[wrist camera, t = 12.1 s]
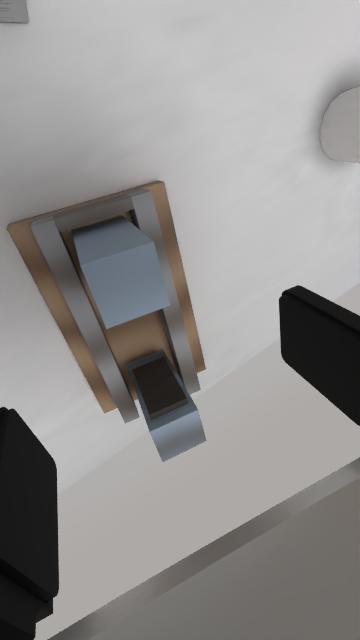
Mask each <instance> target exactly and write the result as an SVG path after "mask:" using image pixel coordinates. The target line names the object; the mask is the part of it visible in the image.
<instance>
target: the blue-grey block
mask: <svg viewBox="0 0 360 640" xmlns="http://www.w3.org/2000/svg"><path fill="white" fill-rule="evenodd" d="M71 231H72V235H73V239H74V243H75V247H76V251H77V255H78V259H79V263H80V266H81V269H82V271H83V273H84V276H85V278H86V281H87V283H88V285H89V288H90V290H91V293H92V295H93V298H94V300H95V302H96V305H97V307H98V310H99V312H100V314H101V317H102V319H103V322H104V324H105V326H106V329H108V328H111V327H115V326H118V325H120V324H123V323H126V322H128V321H131V320H134V319H136V318H139V317H142V316H144V315H147V314H150V313H152V312H155V311H158V310H160V309H162V308H164V307H167V306H170V302H169V298H168V294H167V291H166V287H165V283H164V279H163V275H162V271H161V267H160V264H159V260H158V256H157V252H156V248H155V244H154V241H152V240H151V239H150V238H149V237H148V236H146V235H145V234H144V233H143V232H142V231H140V230H139V229H138V228H137V227H136V226H134V225H133V224H132V223H131V222H129V221H128V220H127V219H126V218H125V217H123V216H122V215H121V216H118V217H114V218H111V219H108V220H104V221H101V222H98V223H94V224H91V225H87V226H84V227H81V228H77V229H74V230H71Z"/></svg>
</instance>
